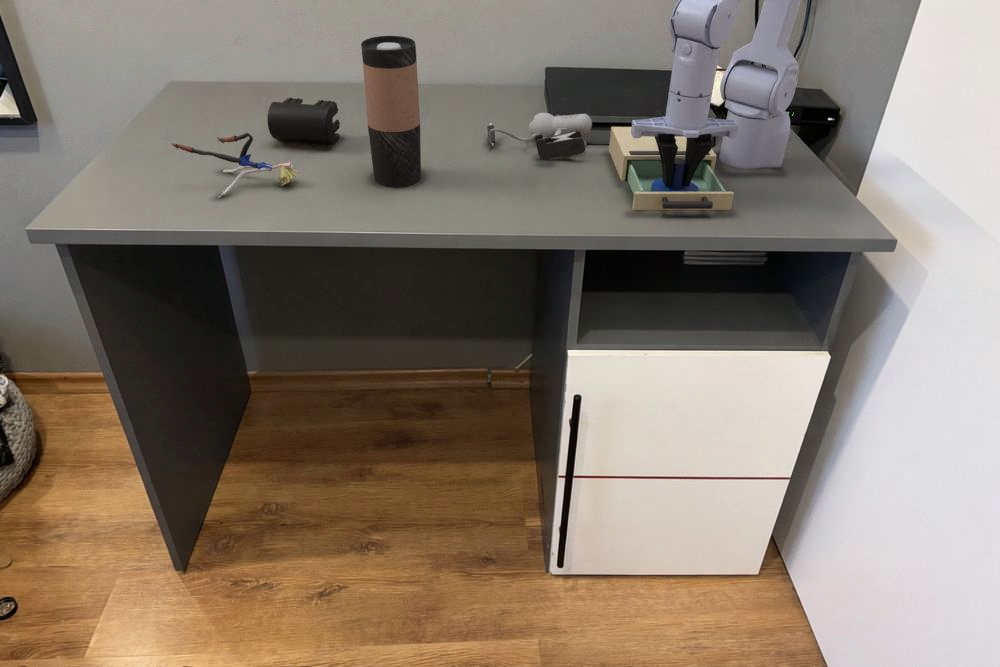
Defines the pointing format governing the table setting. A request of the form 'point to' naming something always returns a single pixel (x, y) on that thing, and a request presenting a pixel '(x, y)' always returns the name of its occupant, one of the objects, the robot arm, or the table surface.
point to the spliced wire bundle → (245, 161)
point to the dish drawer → (643, 149)
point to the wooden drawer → (705, 199)
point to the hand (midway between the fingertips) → (675, 183)
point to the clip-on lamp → (554, 134)
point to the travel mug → (392, 109)
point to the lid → (675, 180)
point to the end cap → (303, 122)
